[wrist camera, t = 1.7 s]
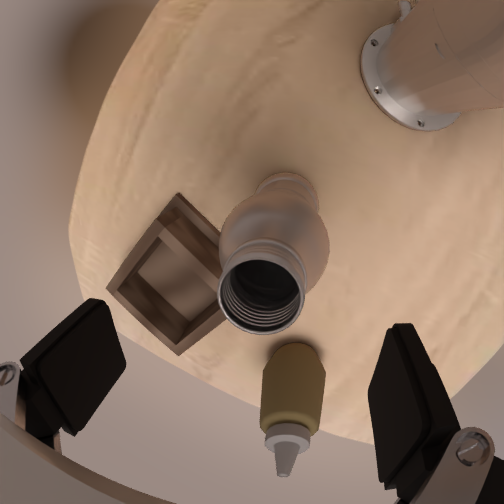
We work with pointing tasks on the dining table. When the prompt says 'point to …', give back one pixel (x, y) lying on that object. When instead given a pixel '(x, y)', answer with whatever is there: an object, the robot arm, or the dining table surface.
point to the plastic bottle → (271, 255)
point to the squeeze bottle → (291, 402)
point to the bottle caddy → (173, 277)
